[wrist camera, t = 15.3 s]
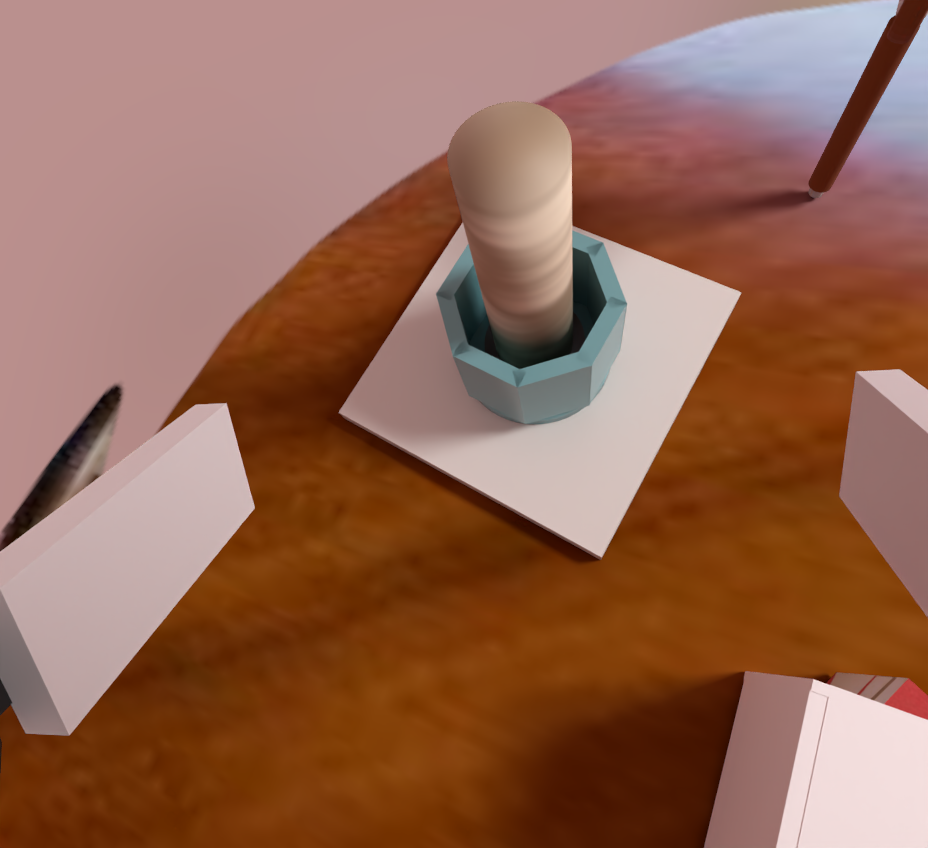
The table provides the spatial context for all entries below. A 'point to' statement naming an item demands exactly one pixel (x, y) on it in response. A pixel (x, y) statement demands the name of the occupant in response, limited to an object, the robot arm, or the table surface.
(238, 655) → the table surface
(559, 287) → the pillar candle on dish
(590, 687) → the table surface
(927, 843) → the cigarette display
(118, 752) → the table surface
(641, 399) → the octagonal cup on tile
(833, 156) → the magnifying glass
